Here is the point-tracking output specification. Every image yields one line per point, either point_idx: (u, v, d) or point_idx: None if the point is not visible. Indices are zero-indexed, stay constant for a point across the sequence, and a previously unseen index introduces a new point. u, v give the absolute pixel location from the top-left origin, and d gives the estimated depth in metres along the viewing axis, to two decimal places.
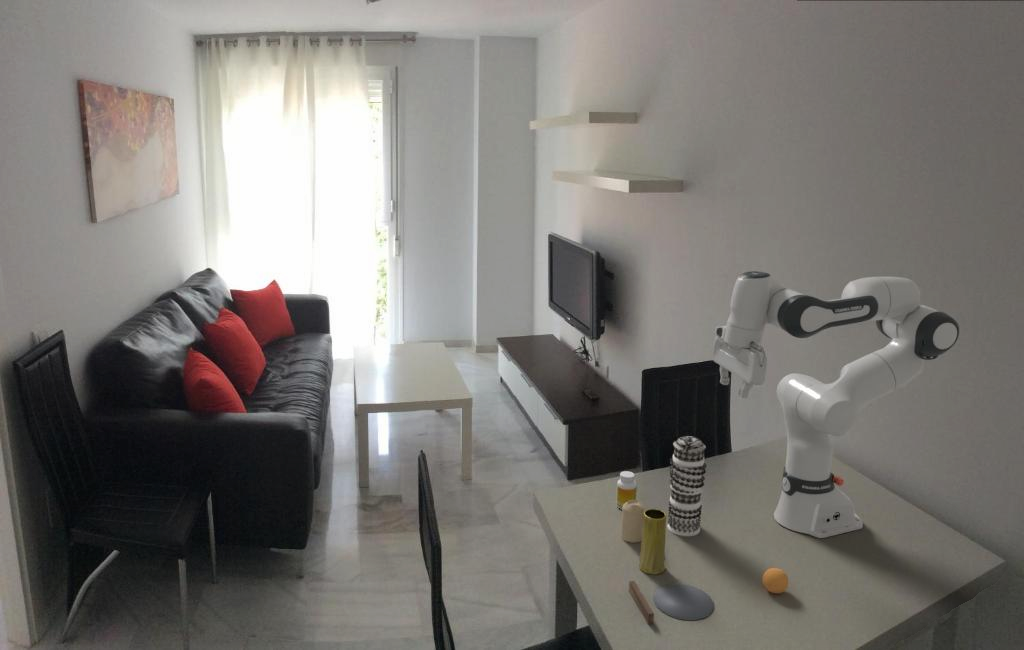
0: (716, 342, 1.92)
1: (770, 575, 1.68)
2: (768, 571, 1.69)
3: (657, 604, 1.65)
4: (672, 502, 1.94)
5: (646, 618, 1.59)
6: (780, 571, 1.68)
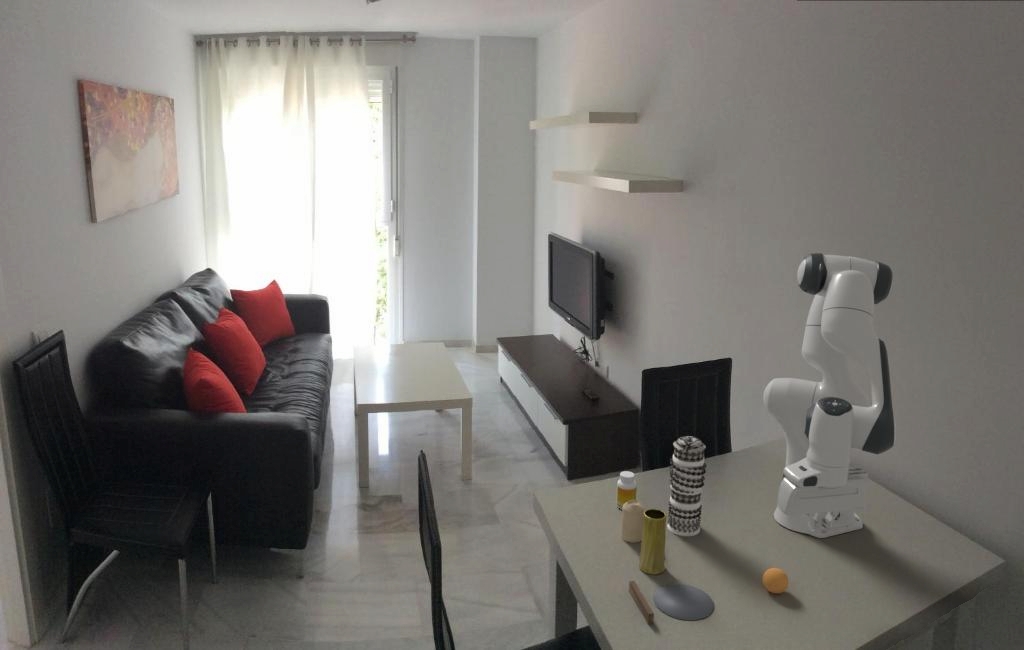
0: (796, 494, 1.62)
1: (770, 575, 1.68)
2: (768, 571, 1.69)
3: (657, 604, 1.65)
4: (672, 502, 1.94)
5: (646, 618, 1.59)
6: (780, 571, 1.68)
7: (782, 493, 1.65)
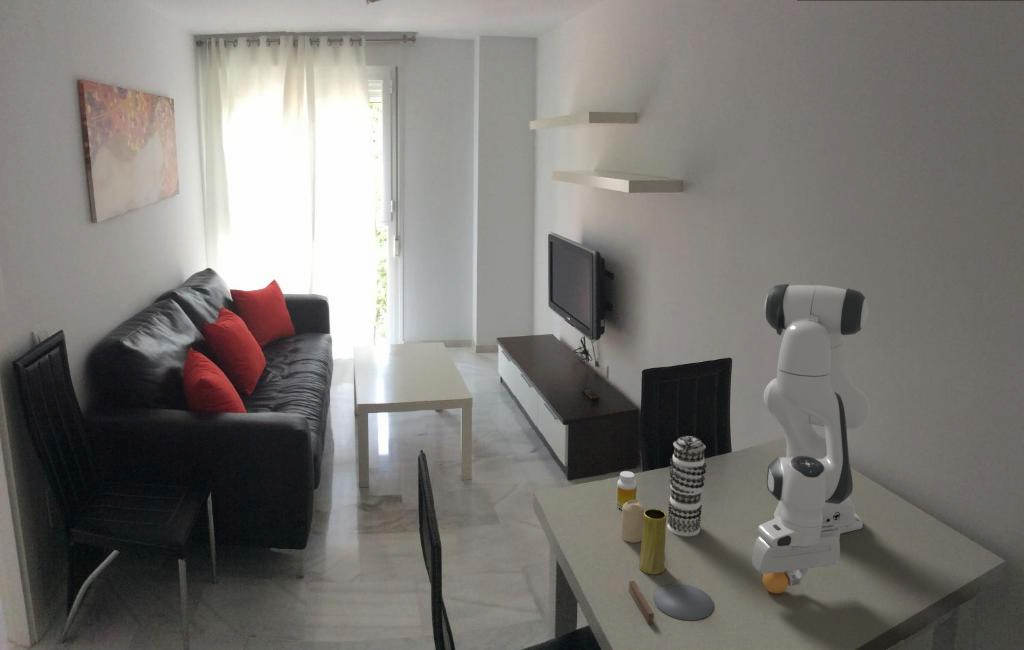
0: (770, 554, 1.64)
1: (770, 575, 1.68)
2: None
3: (657, 604, 1.65)
4: (672, 502, 1.94)
5: (646, 618, 1.59)
6: (780, 572, 1.68)
7: (757, 552, 1.66)
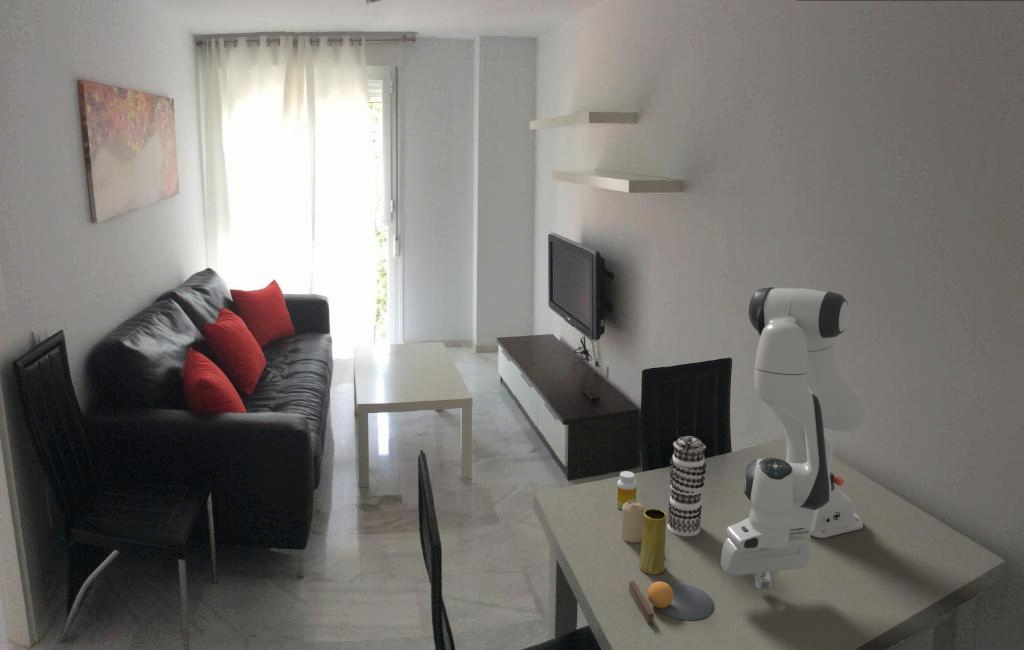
0: (737, 555, 1.63)
1: None
2: None
3: None
4: (672, 502, 1.94)
5: (646, 618, 1.59)
6: None
7: (724, 554, 1.66)
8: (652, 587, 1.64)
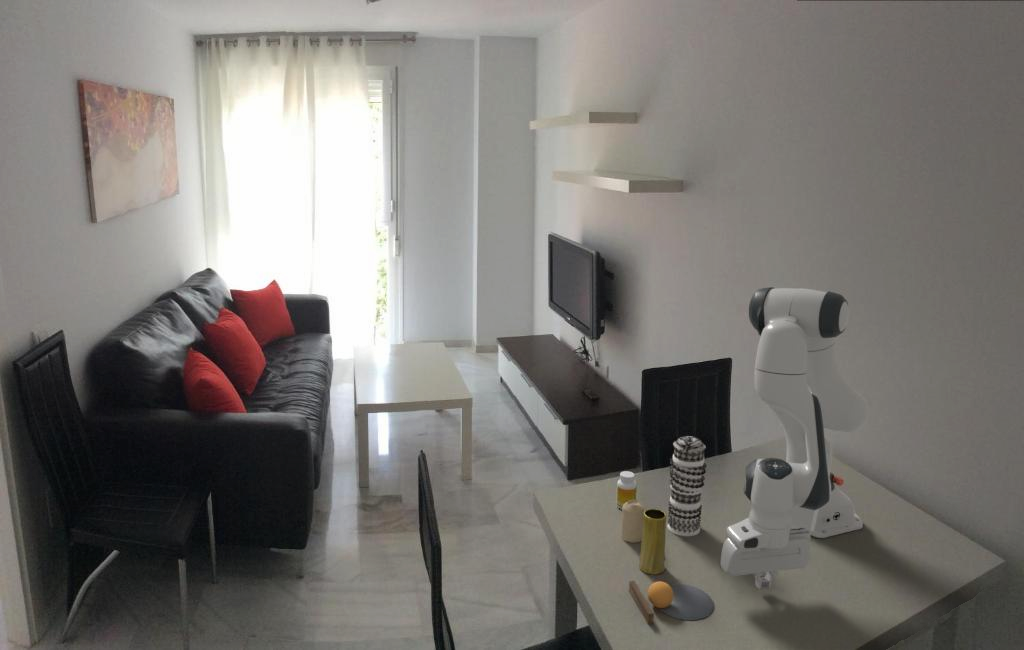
0: (737, 555, 1.63)
1: None
2: None
3: None
4: (672, 502, 1.94)
5: (646, 618, 1.59)
6: None
7: (724, 554, 1.66)
8: (652, 587, 1.64)
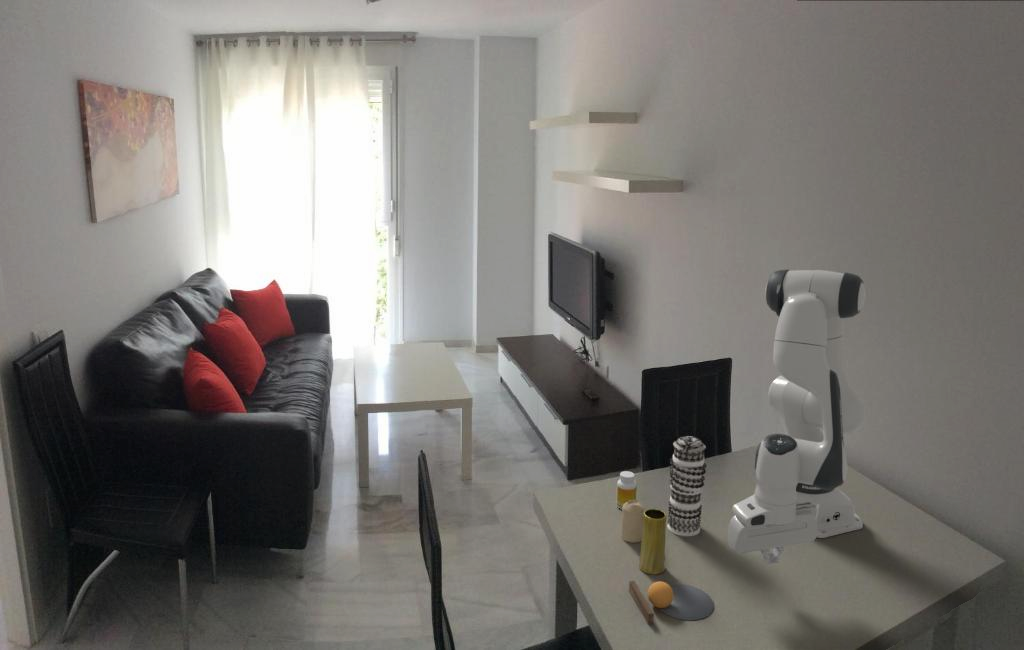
0: (744, 533, 1.62)
1: None
2: None
3: None
4: (672, 502, 1.94)
5: (646, 618, 1.59)
6: None
7: (731, 532, 1.64)
8: (652, 587, 1.64)
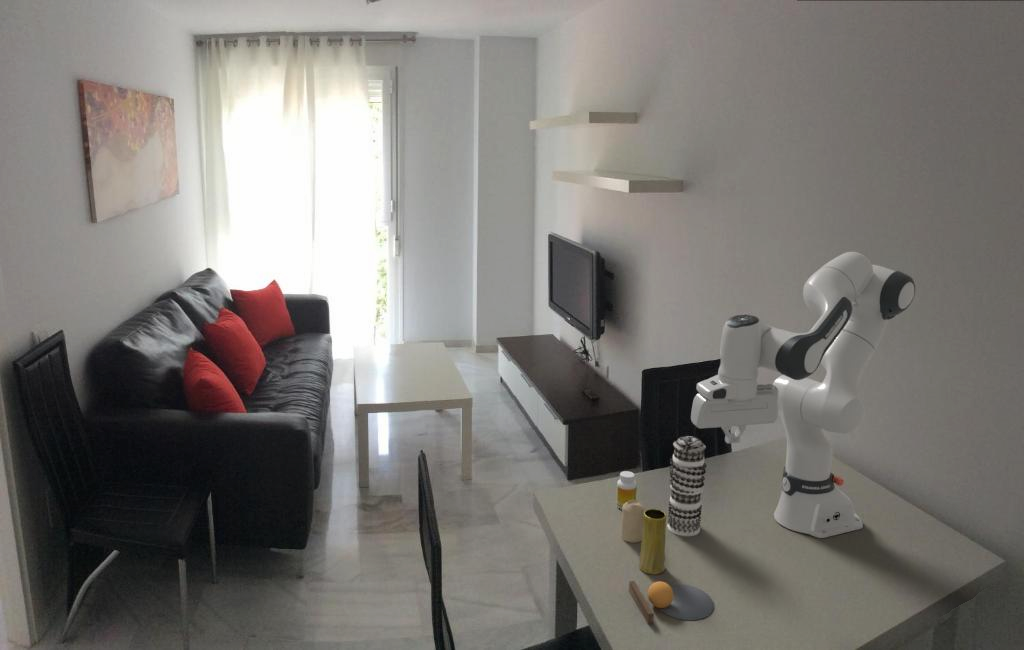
0: (706, 407, 1.68)
1: None
2: None
3: None
4: (672, 502, 1.94)
5: (646, 618, 1.59)
6: None
7: (694, 407, 1.71)
8: (652, 587, 1.64)
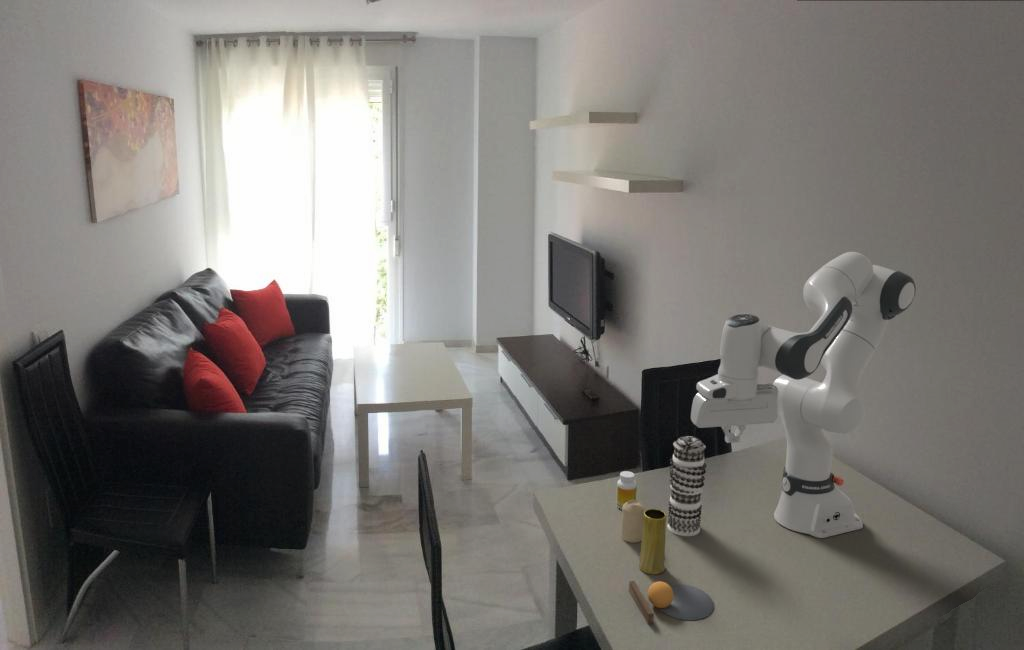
0: (706, 406, 1.68)
1: None
2: None
3: None
4: (672, 502, 1.94)
5: (646, 618, 1.59)
6: None
7: (694, 407, 1.71)
8: (652, 587, 1.64)
